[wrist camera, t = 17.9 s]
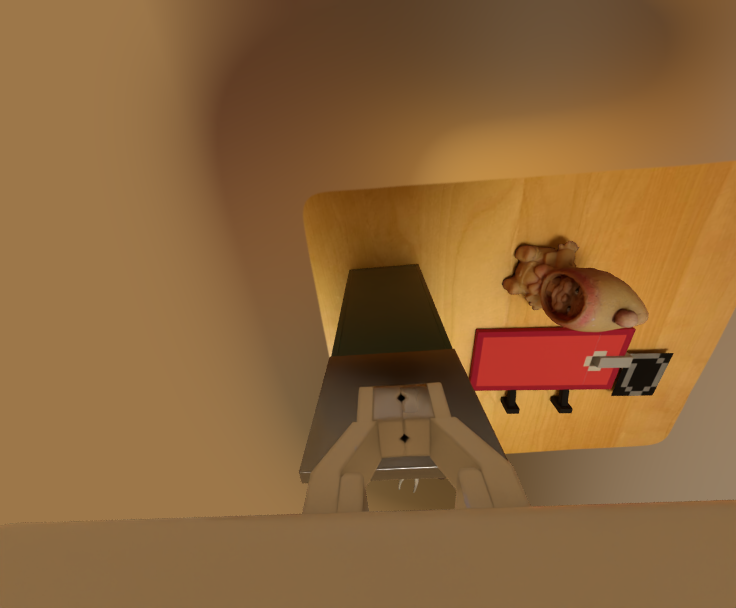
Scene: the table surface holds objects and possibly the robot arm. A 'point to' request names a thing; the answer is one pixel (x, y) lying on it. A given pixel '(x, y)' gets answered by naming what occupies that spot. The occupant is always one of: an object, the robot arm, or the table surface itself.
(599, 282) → the figurine
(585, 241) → the table surface
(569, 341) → the red board with handle
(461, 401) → the trash can lid
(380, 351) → the trash can
